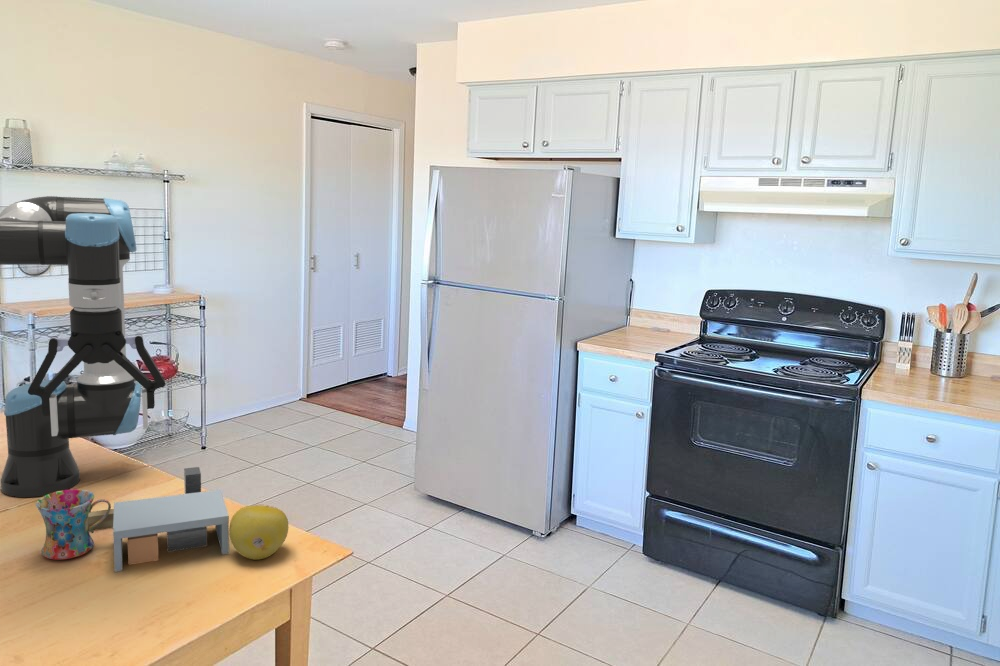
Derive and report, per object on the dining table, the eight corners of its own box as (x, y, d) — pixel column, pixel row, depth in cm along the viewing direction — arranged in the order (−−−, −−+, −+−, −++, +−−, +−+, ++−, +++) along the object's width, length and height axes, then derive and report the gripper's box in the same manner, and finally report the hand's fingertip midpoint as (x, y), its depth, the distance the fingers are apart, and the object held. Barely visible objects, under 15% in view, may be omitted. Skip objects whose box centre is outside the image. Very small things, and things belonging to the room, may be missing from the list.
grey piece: (163, 510, 155) (162, 470, 153) (199, 505, 158) (199, 466, 157) (167, 551, 138) (166, 507, 137) (208, 545, 142) (208, 502, 140)
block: (128, 552, 137) (127, 528, 136) (157, 548, 140) (156, 524, 139) (128, 565, 133) (127, 539, 132) (158, 560, 135) (157, 535, 134)
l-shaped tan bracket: (65, 534, 142) (63, 501, 141) (66, 528, 145) (64, 495, 144) (122, 526, 147) (121, 494, 146) (122, 520, 150) (121, 488, 148)
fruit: (294, 559, 138) (295, 510, 136) (236, 572, 133) (235, 521, 131) (280, 537, 147) (280, 490, 145) (224, 547, 141) (223, 500, 139)
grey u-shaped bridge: (115, 540, 141) (114, 502, 140) (221, 525, 150) (220, 489, 148) (114, 573, 130) (113, 531, 128) (229, 554, 139) (228, 515, 137)
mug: (40, 569, 130) (37, 513, 128) (37, 547, 137) (34, 494, 135) (115, 553, 137) (113, 500, 135) (109, 533, 144) (106, 483, 142)
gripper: (2, 313, 111) (11, 444, 115) (179, 310, 122) (181, 430, 126) (9, 305, 118) (17, 429, 122) (176, 303, 129) (179, 417, 133)
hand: (101, 430), depth 124 cm, fingers open, 13 cm apart
